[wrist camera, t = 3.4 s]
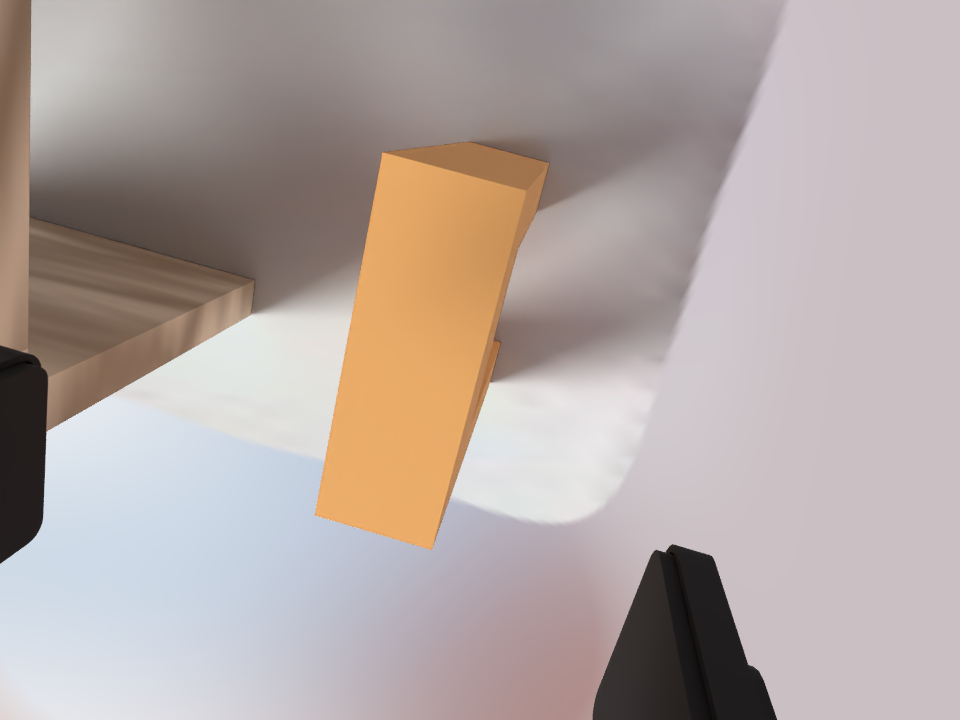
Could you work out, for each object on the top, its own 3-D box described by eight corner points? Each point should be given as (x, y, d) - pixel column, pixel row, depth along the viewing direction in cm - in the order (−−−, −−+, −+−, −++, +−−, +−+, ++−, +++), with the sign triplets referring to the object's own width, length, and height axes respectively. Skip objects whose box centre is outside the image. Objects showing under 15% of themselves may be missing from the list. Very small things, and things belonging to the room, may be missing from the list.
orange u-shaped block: (469, 141, 24) (382, 151, 14) (549, 163, 24) (526, 190, 13) (418, 362, 27) (314, 515, 17) (489, 383, 27) (431, 549, 16)
